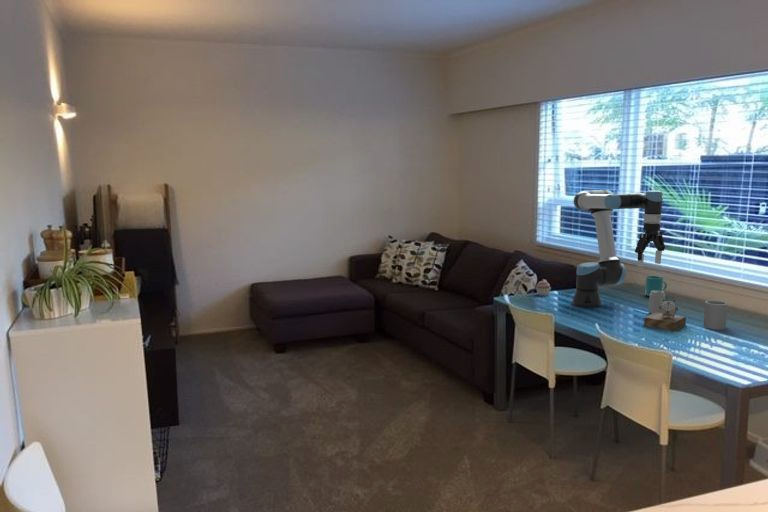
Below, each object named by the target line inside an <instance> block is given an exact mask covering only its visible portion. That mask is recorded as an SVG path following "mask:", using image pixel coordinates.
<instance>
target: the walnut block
mask: <svg viewBox="0 0 768 512" xmlns="http://www.w3.org/2000/svg"><path fill="white" fill-rule="evenodd" d="M662 315H663V314H662V313H658V312H655V313H653V314H649V315H646V316H644V318H643V327H648V328H653V329H654V328H655V329H659V330H665V331H670V332H676V331H678V330H680V329H682V328H684V327H685V326H686V325H687V324H686V323H687V317H686V316H685V315H684V316H683V315H679V314H678V315H677V314H674V318H673V316H663V317H662Z"/></svg>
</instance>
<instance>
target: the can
mask: <svg viewBox="0 0 768 512" xmlns="http://www.w3.org/2000/svg"><path fill="white" fill-rule="evenodd" d="M648 298H649V299H648V300H649V301H648V313H649V315H651V314H653V313H655V312H658V313H662V311H661V309H659V307H660V306H661V305H662V303H663V302H664V301H666V294H665V290H663V291H658V290H653V291H651V293H650V295H649V297H648ZM663 299H664V301H663Z"/></svg>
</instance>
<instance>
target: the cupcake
mask: <svg viewBox="0 0 768 512" xmlns="http://www.w3.org/2000/svg"><path fill="white" fill-rule="evenodd" d="M551 289H552V287H551V285H550V283H549V282H548V281H547V279H544V278H542V280H540V281H538V283H537V284H536V286H535V290H536V292H537V296H539V297H549V295H550V291H551Z"/></svg>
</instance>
